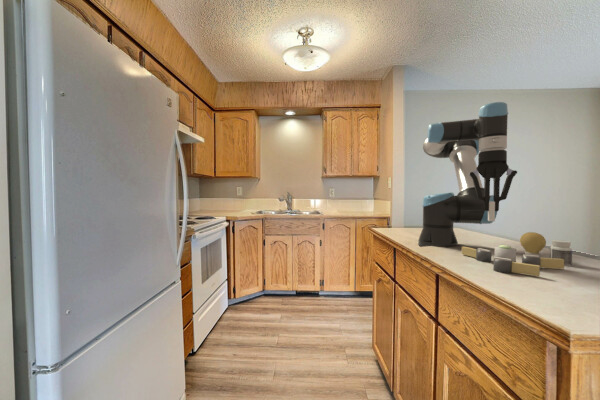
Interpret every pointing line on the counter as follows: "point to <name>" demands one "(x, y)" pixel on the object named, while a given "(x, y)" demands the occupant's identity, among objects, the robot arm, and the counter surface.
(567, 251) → the pill bottle
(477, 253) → the knob
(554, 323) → the counter surface
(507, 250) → the tribrach plate
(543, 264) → the knob
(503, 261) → the knob
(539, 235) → the light bulb
